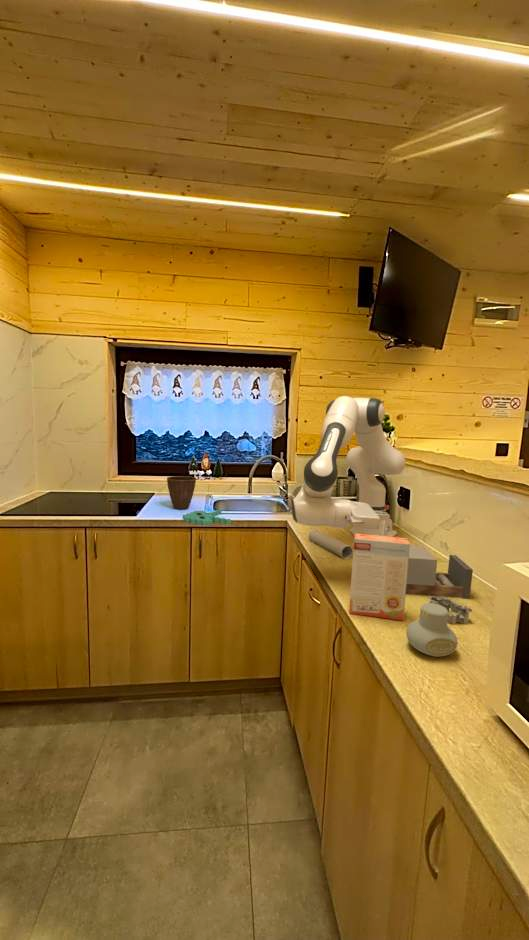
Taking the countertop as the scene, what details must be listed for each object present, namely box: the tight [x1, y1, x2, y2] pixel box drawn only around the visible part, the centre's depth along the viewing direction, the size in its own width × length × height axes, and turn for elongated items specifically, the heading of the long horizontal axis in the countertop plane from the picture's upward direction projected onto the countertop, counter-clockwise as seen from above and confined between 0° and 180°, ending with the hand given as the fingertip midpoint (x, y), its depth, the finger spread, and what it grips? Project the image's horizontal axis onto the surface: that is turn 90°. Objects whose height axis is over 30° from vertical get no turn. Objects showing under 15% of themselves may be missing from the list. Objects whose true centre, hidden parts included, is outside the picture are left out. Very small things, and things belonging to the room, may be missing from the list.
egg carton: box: [427, 595, 473, 625], centre depth 116 cm, size 11×8×4 cm
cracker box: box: [348, 533, 411, 621], centre depth 113 cm, size 14×6×21 cm, turn 77°
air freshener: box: [405, 602, 458, 658], centre depth 97 cm, size 11×8×10 cm
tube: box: [308, 529, 354, 560], centre depth 168 cm, size 5×5×25 cm
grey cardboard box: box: [406, 544, 438, 586], centre depth 133 cm, size 10×13×8 cm
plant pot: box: [166, 475, 197, 511], centre depth 222 cm, size 15×15×16 cm
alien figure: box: [182, 509, 232, 526], centre depth 204 cm, size 20×2×20 cm
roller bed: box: [405, 554, 474, 600], centre depth 133 cm, size 22×13×9 cm, turn 87°
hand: (388, 516), depth 131 cm, fingers closed
